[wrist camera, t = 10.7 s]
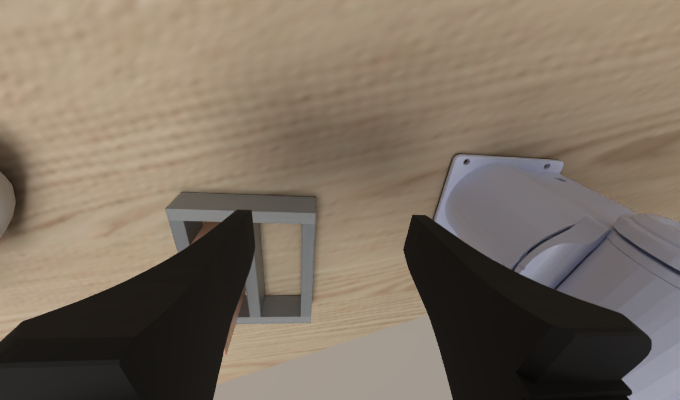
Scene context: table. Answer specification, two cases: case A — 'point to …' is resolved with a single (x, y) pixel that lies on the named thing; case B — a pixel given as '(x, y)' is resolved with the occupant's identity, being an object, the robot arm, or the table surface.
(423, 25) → the table surface
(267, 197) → the dish rack
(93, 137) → the table surface
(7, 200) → the donut
